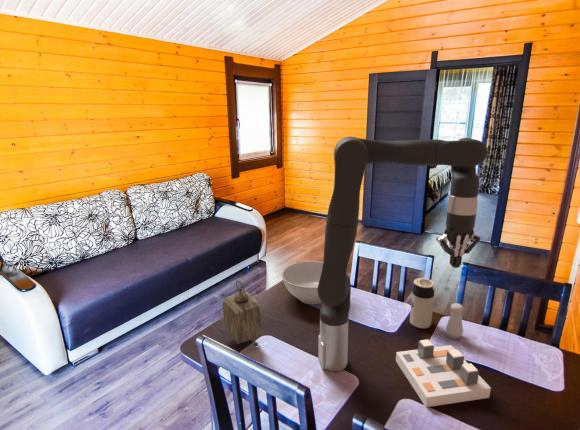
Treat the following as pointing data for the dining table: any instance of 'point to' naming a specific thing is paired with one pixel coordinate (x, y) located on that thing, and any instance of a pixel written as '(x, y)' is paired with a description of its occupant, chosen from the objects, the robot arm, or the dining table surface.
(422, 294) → the travel mug
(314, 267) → the decorative bowl
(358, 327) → the dining table surface
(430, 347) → the knob far
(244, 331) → the brown wooden lantern
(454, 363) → the knob mid
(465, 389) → the tray
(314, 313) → the dining table surface
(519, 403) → the dining table surface
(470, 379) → the grey block
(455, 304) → the salt shaker
